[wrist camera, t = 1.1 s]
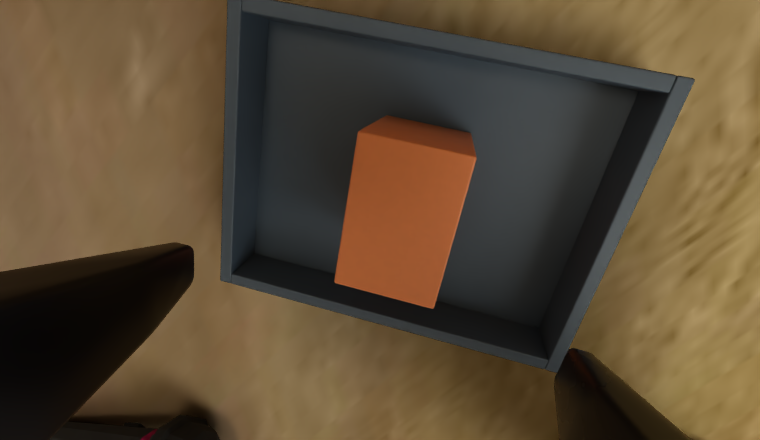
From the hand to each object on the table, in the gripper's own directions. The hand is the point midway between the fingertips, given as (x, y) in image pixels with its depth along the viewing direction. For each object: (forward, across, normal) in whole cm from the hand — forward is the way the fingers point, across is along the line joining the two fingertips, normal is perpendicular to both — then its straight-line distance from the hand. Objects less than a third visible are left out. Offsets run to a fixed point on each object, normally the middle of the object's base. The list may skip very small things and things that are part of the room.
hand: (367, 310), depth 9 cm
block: (+11, 0, 0) cm, 11 cm away
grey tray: (+11, 0, 0) cm, 11 cm away
